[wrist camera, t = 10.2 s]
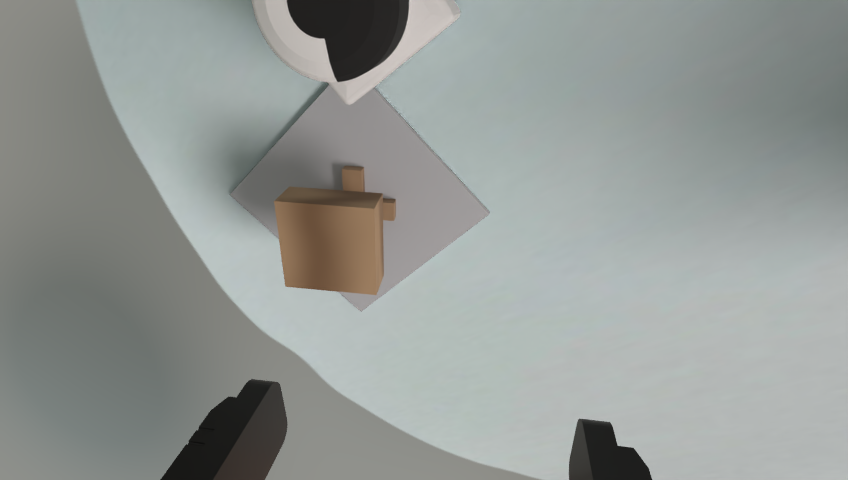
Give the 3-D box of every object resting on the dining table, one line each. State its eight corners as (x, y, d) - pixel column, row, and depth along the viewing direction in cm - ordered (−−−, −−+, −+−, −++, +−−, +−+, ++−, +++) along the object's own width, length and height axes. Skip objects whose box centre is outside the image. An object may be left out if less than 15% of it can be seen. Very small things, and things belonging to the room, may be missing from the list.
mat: (489, 211, 34) (489, 214, 33) (362, 308, 39) (360, 311, 39) (350, 62, 30) (349, 62, 30) (232, 192, 35) (229, 194, 35)
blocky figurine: (390, -99, 26) (322, -168, 15) (463, 14, 28) (448, 23, 17) (301, -11, 28) (191, -17, 18) (375, 86, 30) (315, 132, 20)
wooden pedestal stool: (395, 169, 32) (374, 208, 26) (395, 243, 35) (376, 295, 29) (313, 163, 33) (273, 201, 27) (320, 237, 36) (285, 286, 30)
